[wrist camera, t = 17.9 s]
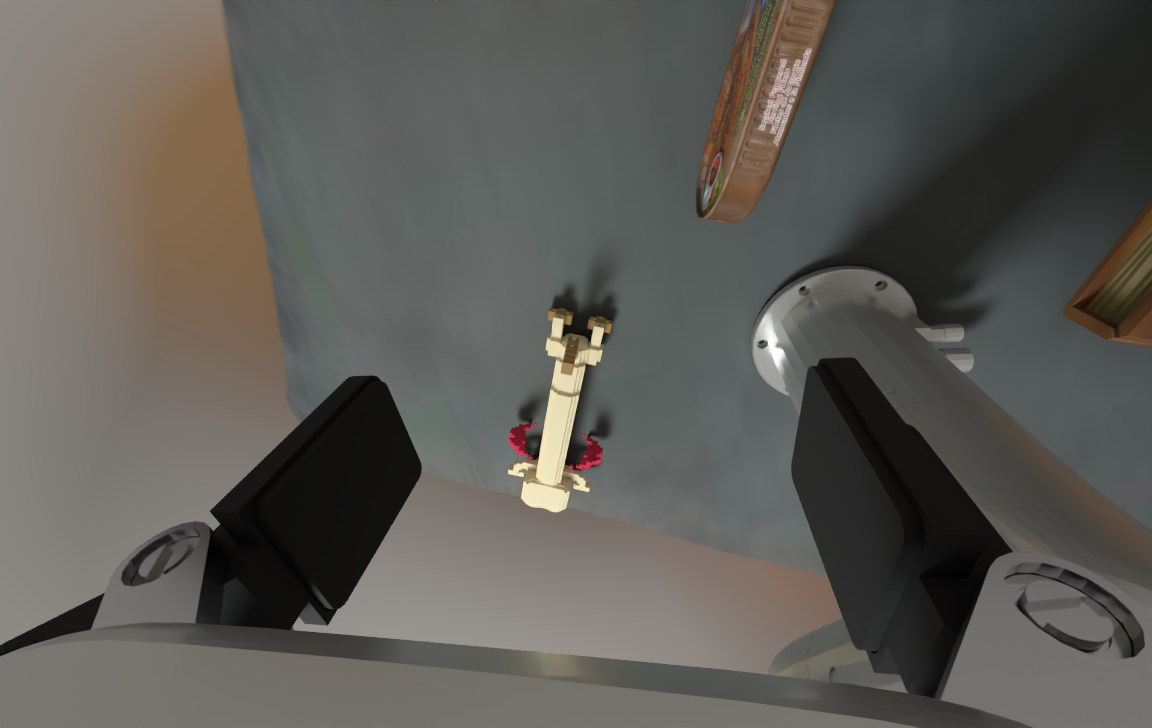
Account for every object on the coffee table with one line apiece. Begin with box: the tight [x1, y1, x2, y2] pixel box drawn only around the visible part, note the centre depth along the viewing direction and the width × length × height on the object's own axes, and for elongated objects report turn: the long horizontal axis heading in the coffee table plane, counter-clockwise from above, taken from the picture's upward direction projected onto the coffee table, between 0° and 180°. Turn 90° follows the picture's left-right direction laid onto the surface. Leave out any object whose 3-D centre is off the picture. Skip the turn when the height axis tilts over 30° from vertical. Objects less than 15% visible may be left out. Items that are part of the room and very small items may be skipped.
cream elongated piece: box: [508, 308, 612, 512], centre depth 43 cm, size 10×9×25 cm
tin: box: [696, 0, 836, 223], centre depth 26 cm, size 15×3×8 cm, turn 171°
